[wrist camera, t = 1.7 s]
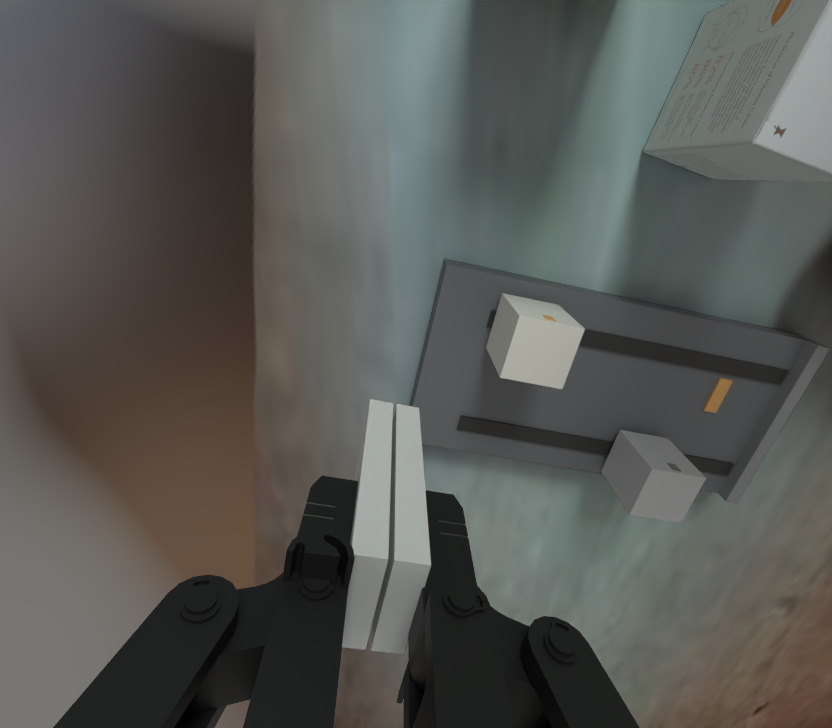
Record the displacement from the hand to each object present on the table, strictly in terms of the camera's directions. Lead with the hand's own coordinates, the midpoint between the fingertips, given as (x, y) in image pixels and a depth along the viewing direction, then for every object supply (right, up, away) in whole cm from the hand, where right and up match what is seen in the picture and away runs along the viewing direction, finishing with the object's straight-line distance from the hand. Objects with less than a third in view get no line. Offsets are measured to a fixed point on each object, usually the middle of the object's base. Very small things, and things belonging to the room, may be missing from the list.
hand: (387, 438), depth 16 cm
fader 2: (+18, -5, +21) cm, 28 cm away
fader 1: (+8, +5, +16) cm, 19 cm away
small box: (+19, +19, +14) cm, 30 cm away
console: (+15, +1, +21) cm, 26 cm away
